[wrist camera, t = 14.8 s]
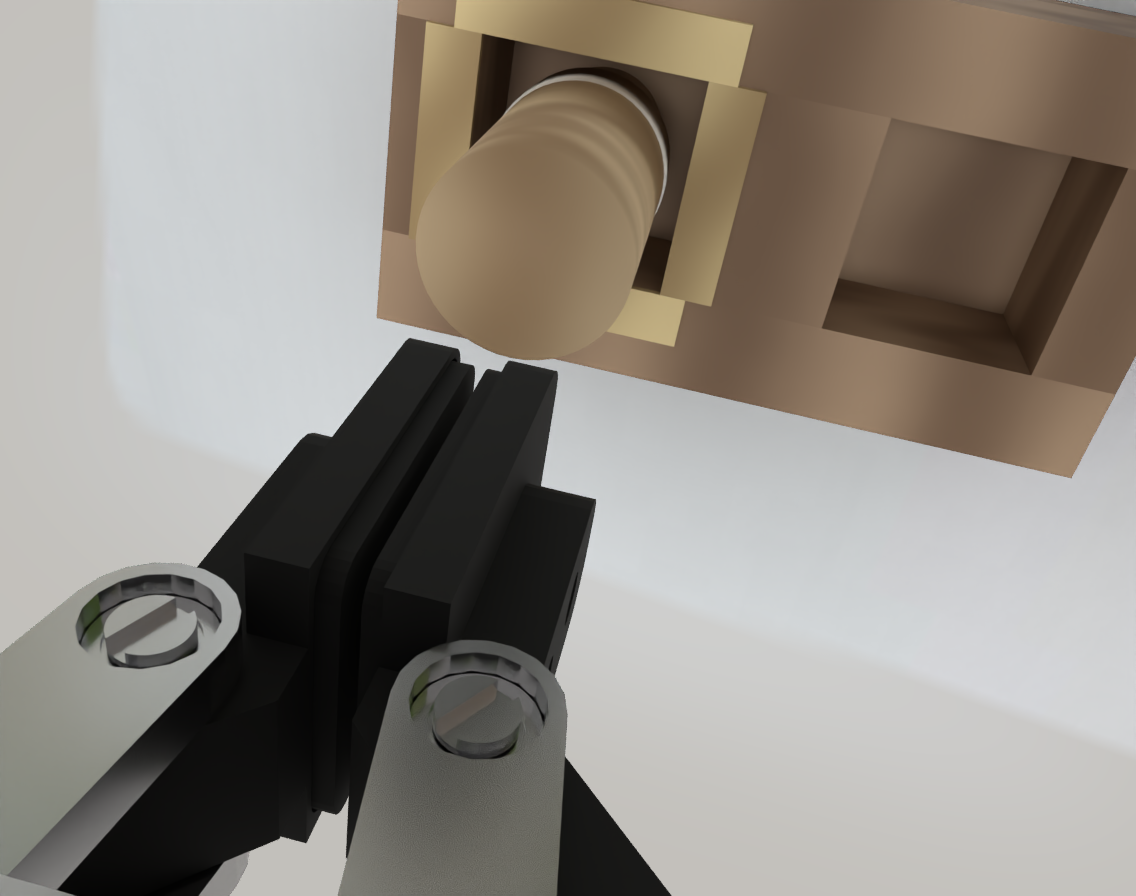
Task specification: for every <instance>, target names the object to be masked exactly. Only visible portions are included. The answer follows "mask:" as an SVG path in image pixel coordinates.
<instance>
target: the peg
mask: <svg viewBox="0 0 1136 896" xmlns="http://www.w3.org/2000/svg"><path fill="white" fill-rule="evenodd" d="M669 163H670V146H669V138H668V134H667V130H666V127H665V124H664V122H663V119H662V117H661V115H660V113H659V109H658V106H657V104H656V101H655V99H654V98H653V96H652V94H651V93H650V91H649V90H648V89H647V87H646V86H645V85H644V84H643V83H642V82H641V81H640V80H638V79H637V78H636V77H634V76H633V75H631V74H629V73H627V72H625V71H623V70H620V69H616V68H612V67H592V68H590V67H582V68H572V69H566V70H563V71H560V72H557V73H554V74H552V75H550V76H548V77H546V78H544V79H543V80H541V81H540V82H538V83H537V84H536V85H534V86H533V87H531V88H530V89H528V90H527V91H526V92H524V93H523V94H522V95H521V96H520V97H519V98H518V99H517V100H516V101H515V102H514V103H513V104H512V105H511V106H510V107H509V108H508V110H507V111H506V112H505V113H504V115H503V116H502V117H501V118H500V119H499V120H498V121H497V122H496V123H495V124H494V125H493V126H492V127H491V128H490V129H489V130H488V131H487V132H486V133H485V134H484V135H483V136H482V137H481V138H480V139H479V140H478V141H477V142H476V143H475V144H474V145H473V146H472V147H471V148H470V149H469V150H468V151H467V152H466V153H465V154H464V155H463V156H462V157H461V158H460V159H459V160H458V161H457V162H456V163H455V164H454V165H453V166H452V167H451V168H450V169H449V170H448V171H447V172H446V173H445V174H444V175H443V176H442V177H441V178H440V180H439V181H438V182H437V183H436V184H435V186H434V187H433V189H432V190H431V192H430V193H429V195H428V197H427V198H426V201H425V203H424V205H423V208H422V210H421V213H420V217H419V221H418V225H417V233H416V256H417V263H418V268H419V271H420V275H421V279H422V281H423V284H424V286H425V289H426V291H427V293H428V295H429V297H430V298H431V300H432V302H433V304H434V305H435V307H436V308H437V309H438V311H439V312H440V314H441V315H442V316H443V317H444V318H445V319H446V320H447V322H448V323H449V324H450V325H451V326H452V327H453V328H455V329H456V330H457V331H458V332H459V333H460V334H461V335H463V336H464V337H466V338H467V339H469V340H470V341H471V342H473V343H475V344H477V345H478V346H480V347H482V348H484V349H486V350H489V351H491V352H494V353H496V354H499V355H503V356H507V357H510V358H516V359H523V360H544V359H553V358H557V357H562V356H566V355H568V354H571V353H574V352H576V351H579V350H580V349H582V348H584V347H586V346H588V345H590V344H591V343H592V342H594V341H595V340H597V339H598V338H599V337H601V336H602V335H603V334H604V333H605V332H606V331H607V330H608V329H609V328H610V327H611V325H612V324H613V323H614V322H615V320H616V319H617V318H618V316H619V315H620V313H621V311H622V309H623V308H624V306H625V304H626V301H627V299H628V296H629V294H630V291H631V288H632V285H633V281H634V278H635V275H636V272H637V269H638V266H639V263H640V260H641V257H642V253H643V250H644V247H645V244H646V241H647V238H648V235H649V232H650V229H651V225H652V222H653V219H654V216H655V214H656V213H657V211H658V208H659V206H660V203H661V201H662V198H663V195H664V191H665V187H666V183H667V176H668V171H669Z"/></svg>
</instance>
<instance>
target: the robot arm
mask: <svg viewBox="0 0 1136 896" xmlns="http://www.w3.org/2000/svg"><path fill="white" fill-rule="evenodd" d="M474 380H475V368H474V366H473V365H468V364H464V363H460V352H459V350H458V349H456V348H452V347H447V346H443V345H438V344H434V343H429V342H425V341H421V340H416V339H411V338H409V339H408V340H407V341H405V343H404V344H403V345H402V347H401V348H400V349H399V351H398V352H397V353H396V354H395V356H394V357H393V358H392V360H391V361H390V362H389V364H388V365H387V366H386V368H385V369H384V370H383V371H382V373H381V374H380V375H379V377H378V378H377V379H376V381H375V382H374V383H373V384H372V386H371V387H370V388H369V390H368V391H367V392H366V394H365V395H364V396H363V398H362V399H361V400H360V401H359V403H358V404H357V405H356V407H355V408H354V409H353V411H352V412H351V413H350V415H349V416H348V417H347V418H346V420H345V421H344V422H343V424H342V425H341V426H340V428H339V429H338V430H337V431H336V433H335V434H334V435H333V437H329V436H325V435H321V434H316V433H311V434H307V435H306V436H305V437H304V438H302V439H301V440H300V441H299V443H298V444H297V445H296V446H295V447H294V449H293V450H292V451H291V452H290V454H289V455H288V456H287V457H286V458H285V460H284V461H283V462H282V463H281V465H280V466H279V467H278V468H277V470H276V471H275V472H274V473H273V474H272V476H271V477H270V478H269V479H268V481H267V482H266V483H265V484H264V486H263V487H262V488H261V489H260V490H259V492H258V493H257V494H256V495H255V497H254V498H253V499H252V500H251V502H250V503H249V504H248V505H247V506H246V508H245V509H244V510H243V511H242V513H241V514H240V515H239V516H238V518H237V519H236V520H235V521H234V523H233V524H232V525H231V526H230V527H229V529H228V530H227V531H226V532H225V533H224V535H223V536H222V537H221V538H220V540H219V541H218V542H217V543H216V545H215V546H214V547H213V548H212V549H211V551H210V552H209V553H208V554H207V556H206V557H205V558H204V559H203V561H202V562H201V563H200V564H199V566H198V567H193V566H189V565H185V564H178V563H149V564H143V565H137V566H131V567H126V568H123V569H120V570H117V571H115V572H112V573H109V574H106V575H104V576H101V577H99V578H97V579H96V580H94V581H93V582H91V583H90V584H88V585H86V586H85V587H83V588H82V589H80V590H78V591H77V592H76V593H75V594H73V595H72V596H71V597H70V598H68V599H67V600H66V601H65V602H63V603H62V604H61V605H60V606H58V607H57V608H56V609H55V610H54V611H52V612H51V613H50V614H49V615H47V616H46V617H45V618H44V619H43V620H41V621H40V622H39V623H37V624H36V625H35V626H34V627H33V628H31V629H30V630H29V631H28V632H26V633H25V634H24V635H23V636H22V637H20V638H19V639H18V640H16V641H15V642H14V643H13V644H12V645H10V646H9V647H8V648H7V649H5V650H4V651H3V652H2V653H0V896H229V895H230V894H231V893H232V891H233V890H234V888H235V887H236V886H237V884H238V882H239V880H240V878H241V876H242V875H243V873H244V871H245V869H246V867H247V864H248V857H249V851H251V850H254V849H256V848H258V847H261V846H263V845H266V844H268V843H270V842H273V841H275V840H277V839H279V838H280V836H281V837H285V838H289V839H293V840H296V841H300V842H304V843H306V842H307V841H308V839H309V836H310V835H311V832H312V830H313V828H314V826H315V824H316V822H317V820H318V818H319V816H320V814H321V812H322V811H325V812H328V813H332V814H338V813H339V812H340V811H341V810H342V808H343V806H344V804H345V802H346V800H347V798H348V796H349V802H348V826H347V846H346V858H347V861H346V865H345V870H344V873H343V877H342V881H341V885H340V889H339V892H338V896H671V894H670V893H669V892H668V891H667V889H666V888H665V887H664V885H663V884H662V883H661V881H660V880H659V879H658V877H657V876H656V875H655V873H654V872H653V871H652V870H651V869H650V867H649V866H648V864H647V863H646V862H645V861H644V859H643V858H642V857H641V855H640V854H639V853H638V851H637V850H636V849H635V847H634V846H633V845H632V843H630V841H629V839H628V838H627V837H626V836H625V834H624V833H623V832H622V830H621V829H620V828H619V826H618V825H617V824H616V822H615V821H614V820H613V818H612V817H611V816H610V815H609V813H608V812H607V811H606V809H605V808H604V807H603V805H602V804H601V803H600V802H599V800H598V799H597V798H596V796H595V795H594V794H593V792H592V791H591V790H590V788H589V787H588V786H587V784H586V783H585V782H584V781H583V779H582V778H581V777H580V775H579V774H578V773H577V771H576V770H575V769H574V768H573V766H572V765H571V764H570V762H569V761H568V760H567V759H566V757H565V748H566V730H567V709H566V701H565V694H564V692H563V691H562V689H561V687H560V685H559V684H558V682H557V680H556V678H555V673H556V669H557V666H558V662H559V659H560V656H561V652H562V649H563V645H564V642H565V638H566V635H567V631H568V628H569V624H570V620H571V617H572V613H573V609H574V605H575V601H576V597H577V593H578V588H579V585H580V580H581V576H582V571H583V567H584V562H585V558H586V553H587V548H588V543H589V538H590V533H591V528H592V523H593V518H594V512H595V506H596V499H592V498H588V497H583V496H579V495H575V494H571V493H566V492H562V491H558V490H554V489H549V488H545V487H541V481H542V475H543V469H544V463H545V456H546V450H547V444H548V438H549V432H550V426H551V419H552V413H553V407H554V401H555V395H556V388H557V380H558V373H557V371H553V370H549V369H545V368H540V367H536V366H531V365H527V364H522V363H518V362H514V361H508V362H507V364H506V365H505V367H504V369H503V371H502V372H499V371H495V370H491V369H487V370H486V371H485V373H484V374H483V376H482V378H481V380H480V381H479V383H478V385H477V387H476V388H475V390H474V392H473V389H474Z"/></svg>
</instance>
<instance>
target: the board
mask: <svg viewBox="0 0 1136 896" xmlns="http://www.w3.org/2000/svg"><path fill="white" fill-rule="evenodd" d="M582 67H590V68H592V67H612V68H616V69H620V70H623V71H625V72H627V73H629V74H631V75H633V76H634V77H636V78H637V79H638V80H640V81H641V82H642V83H643V84H644V85H645V86H646V87H647V89H648V90H649V91H650V93H651V94H652V96H653V98H654V99H655V101H656V104H657V106H658V109H659V113H660V115H661V117H662V119H663V122H664V124H665V127H666V130H667V134H668V138H669V146H670V163H669V171H668V176H667V183H666V187H665V191H664V195H663V198H662V201H661V203H660V206H659V208H658V211H657V213H656V214H655V216H654V219H653V222H652V225H651V229H650V232H649V235H648V238H647V241H646V244H645V247H644V250H643V253H642V257H641V260H640V263H639V266H638V269H637V272H636V275H635V278H634V281H633V285H632V288H631V291H630V294H629V296H628V299H627V301H626V304H625V306H624V308H623V309H622V311H621V313H620V315H619V316H618V318H617V319H616V320H615V322H614V323H613V324H612V325H611V327H610V328H609V329H608V330H607V331H606V332H605V333H604V334H603V335H602V336H601V337H599V338H598V339H597V340H595V341H594V342H592V343H591V344H590V345H588V346H586V347H584V348H582V349H580V350H579V351H576V352H574V353H571V354H568V355H566V356H562V357H557V358H553V359H557V360H562V361H566V362H570V363H575V364H579V365H583V366H588V367H592V368H596V369H601V370H605V371H609V372H614V373H618V374H622V375H627V376H631V377H635V378H640V379H644V380H648V381H653V382H657V383H661V384H666V385H670V386H674V387H679V388H683V389H687V390H692V391H696V392H700V393H705V394H709V395H713V396H718V397H722V398H726V399H731V400H735V401H739V402H744V403H748V404H752V405H757V406H761V407H765V408H770V409H774V410H778V411H783V412H787V413H791V414H796V415H800V416H804V417H809V418H813V419H817V420H822V421H826V422H830V423H835V424H839V425H843V426H848V427H852V428H856V429H860V430H865V431H869V432H873V433H878V434H882V435H886V436H891V437H895V438H899V439H904V440H908V441H912V442H917V443H921V444H925V445H930V446H934V447H938V448H943V449H947V450H951V451H956V452H960V453H964V454H969V455H973V456H977V457H982V458H986V459H990V460H995V461H999V462H1003V463H1008V464H1012V465H1016V466H1021V467H1025V468H1029V469H1034V470H1038V471H1042V472H1047V473H1051V474H1055V475H1060V476H1064V477H1068V478H1072V476H1073V474H1074V472H1075V470H1076V468H1077V466H1078V464H1079V462H1080V461H1081V459H1082V457H1083V455H1084V453H1085V451H1086V449H1087V447H1088V445H1089V443H1090V442H1091V440H1092V438H1093V436H1094V434H1095V432H1096V430H1097V428H1098V426H1099V425H1100V423H1101V421H1102V419H1103V417H1104V415H1105V413H1106V411H1107V409H1108V407H1109V406H1110V404H1111V402H1112V400H1113V398H1114V396H1115V394H1116V392H1117V390H1118V388H1119V387H1120V385H1121V383H1122V381H1123V379H1124V377H1125V375H1126V373H1127V371H1128V369H1129V368H1130V366H1131V364H1132V362H1133V360H1134V358H1135V356H1136V16H1131V15H1126V14H1121V13H1116V12H1111V11H1106V10H1101V9H1096V8H1091V7H1086V6H1081V5H1077V4H1072V3H1067V2H1062V1H1057V0H398V8H397V23H396V38H395V52H394V67H393V82H392V97H391V112H390V127H389V142H388V157H387V172H386V187H385V202H384V216H383V231H382V246H381V261H380V276H379V291H378V306H377V318H380V319H384V320H388V321H393V322H397V323H401V324H406V325H410V326H414V327H419V328H423V329H427V330H432V331H436V332H440V333H445V334H449V335H453V336H458V337H462V338H466V337H464V336H463V335H461V334H460V333H459V332H458V331H457V330H456V329H455V328H453V327H452V326H451V325H450V324H449V323H448V322H447V320H446V319H445V318H444V317H443V316H442V315H441V314H440V312H439V311H438V309H437V308H436V307H435V305H434V304H433V302H432V300H431V298H430V297H429V295H428V293H427V291H426V289H425V286H424V284H423V281H422V279H421V275H420V271H419V268H418V263H417V256H416V233H417V225H418V221H419V217H420V213H421V210H422V208H423V205H424V203H425V201H426V198H427V197H428V195H429V193H430V192H431V190H432V189H433V187H434V186H435V184H436V183H437V182H438V181H439V180H440V178H441V177H442V176H443V175H444V174H445V173H446V172H447V171H448V170H449V169H450V168H451V167H452V166H453V165H454V164H455V163H456V162H457V161H458V160H459V159H460V158H461V157H462V156H463V155H464V154H465V153H466V152H467V151H468V150H469V149H470V148H471V147H472V146H473V145H474V144H475V143H476V142H477V141H478V140H479V139H480V138H481V137H482V136H483V135H484V134H485V133H486V132H487V131H488V130H489V129H490V128H491V127H492V126H493V125H494V124H495V123H496V122H497V121H498V120H499V119H500V118H501V117H502V116H503V115H504V113H505V112H506V111H507V110H508V108H509V107H510V106H511V105H512V104H513V103H514V102H515V101H516V100H517V99H518V98H519V97H520V96H521V95H522V94H523V93H524V92H526V91H527V90H528V89H530V88H531V87H533V86H534V85H536V84H537V83H538V82H540V81H541V80H543V79H544V78H546V77H548V76H550V75H552V74H554V73H557V72H560V71H563V70H566V69H572V68H582ZM466 339H467V338H466Z"/></svg>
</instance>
